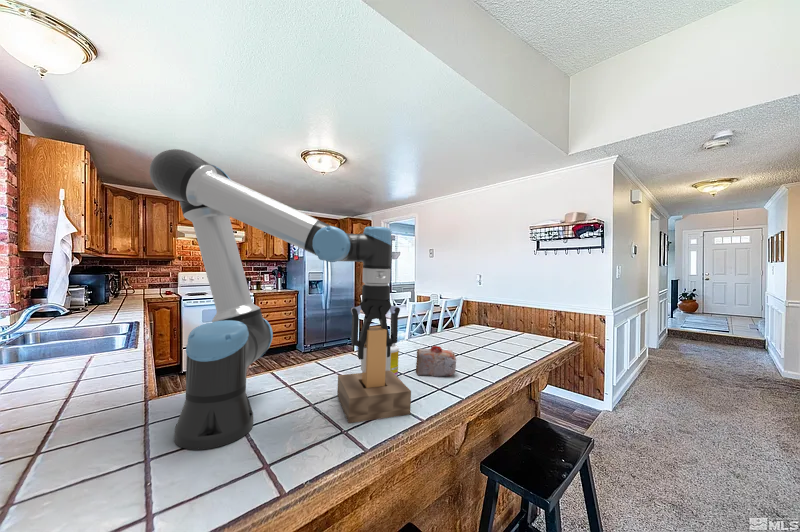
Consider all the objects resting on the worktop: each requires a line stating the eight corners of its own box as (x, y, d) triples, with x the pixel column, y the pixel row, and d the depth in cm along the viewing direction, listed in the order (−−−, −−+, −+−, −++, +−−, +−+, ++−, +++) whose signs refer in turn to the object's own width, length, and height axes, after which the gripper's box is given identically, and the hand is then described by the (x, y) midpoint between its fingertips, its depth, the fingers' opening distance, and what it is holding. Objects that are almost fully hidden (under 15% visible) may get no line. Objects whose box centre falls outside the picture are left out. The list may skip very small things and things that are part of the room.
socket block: (348, 423, 76) (349, 398, 76) (337, 395, 91) (338, 375, 91) (410, 414, 82) (411, 391, 82) (390, 389, 97) (390, 370, 97)
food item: (452, 370, 117) (453, 343, 117) (456, 378, 109) (457, 349, 109) (415, 369, 117) (416, 342, 116) (416, 377, 109) (417, 348, 109)
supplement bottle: (398, 372, 112) (400, 336, 112) (396, 379, 105) (398, 341, 105) (379, 371, 113) (381, 335, 113) (376, 378, 106) (378, 339, 106)
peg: (366, 388, 83) (368, 330, 83) (362, 381, 88) (363, 327, 88) (384, 386, 85) (386, 330, 85) (379, 379, 90) (381, 326, 89)
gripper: (345, 285, 79) (343, 378, 80) (412, 285, 86) (409, 371, 86) (340, 283, 86) (337, 368, 87) (402, 283, 93) (399, 362, 93)
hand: (373, 369), depth 86 cm, fingers closed on peg, 5 cm apart
